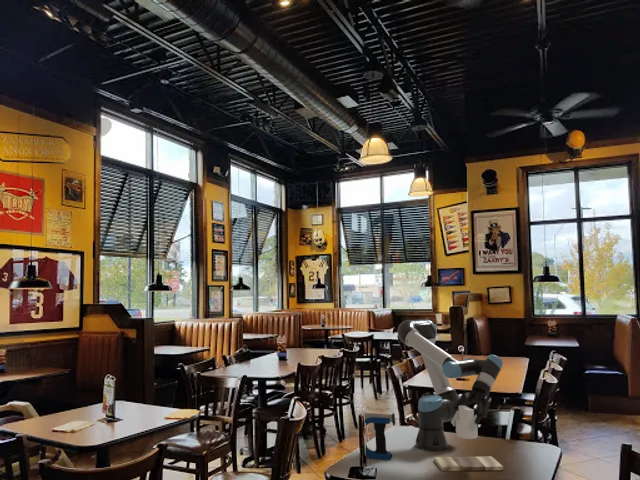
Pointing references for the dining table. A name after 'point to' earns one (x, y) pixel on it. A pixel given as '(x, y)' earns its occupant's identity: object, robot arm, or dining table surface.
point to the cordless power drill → (379, 434)
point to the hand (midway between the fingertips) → (461, 426)
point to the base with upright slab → (465, 423)
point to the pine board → (467, 463)
